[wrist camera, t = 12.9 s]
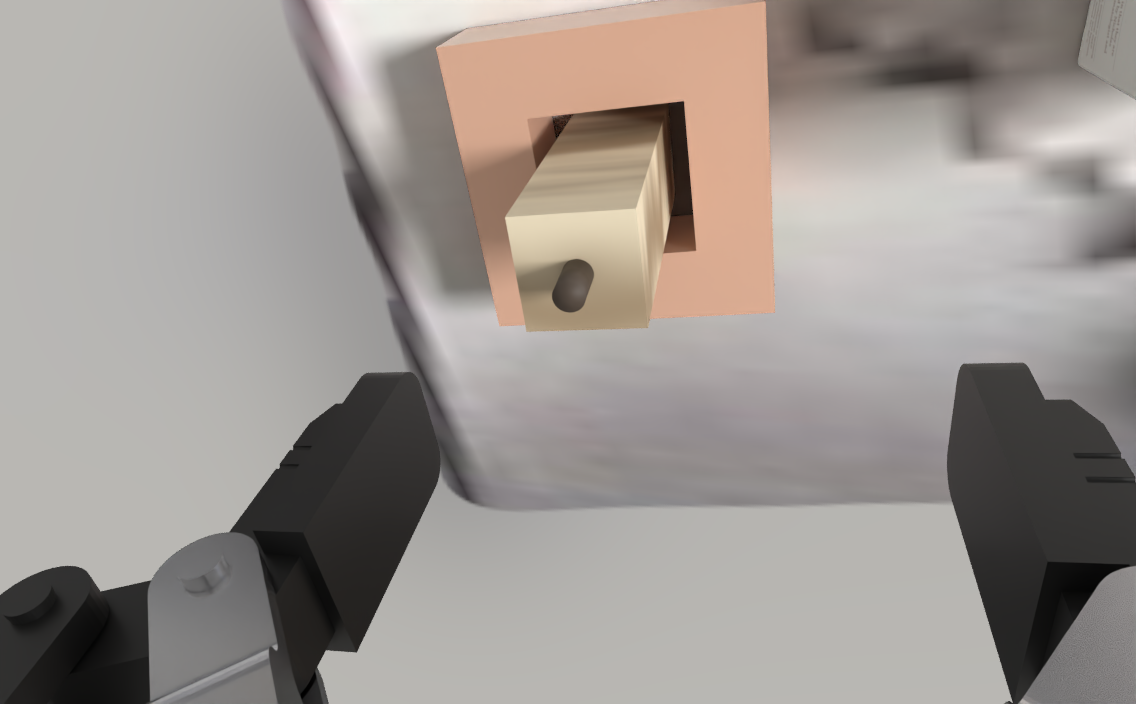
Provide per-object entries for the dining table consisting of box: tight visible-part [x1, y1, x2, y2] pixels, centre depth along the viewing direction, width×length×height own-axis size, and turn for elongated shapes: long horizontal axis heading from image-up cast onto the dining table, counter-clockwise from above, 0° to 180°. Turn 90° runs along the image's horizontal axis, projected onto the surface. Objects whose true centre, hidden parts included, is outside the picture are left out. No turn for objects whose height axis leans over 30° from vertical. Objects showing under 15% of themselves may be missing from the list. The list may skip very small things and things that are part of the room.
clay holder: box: [436, 0, 775, 326], centre depth 33 cm, size 12×12×4 cm
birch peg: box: [505, 103, 675, 332], centre depth 29 cm, size 4×4×14 cm
